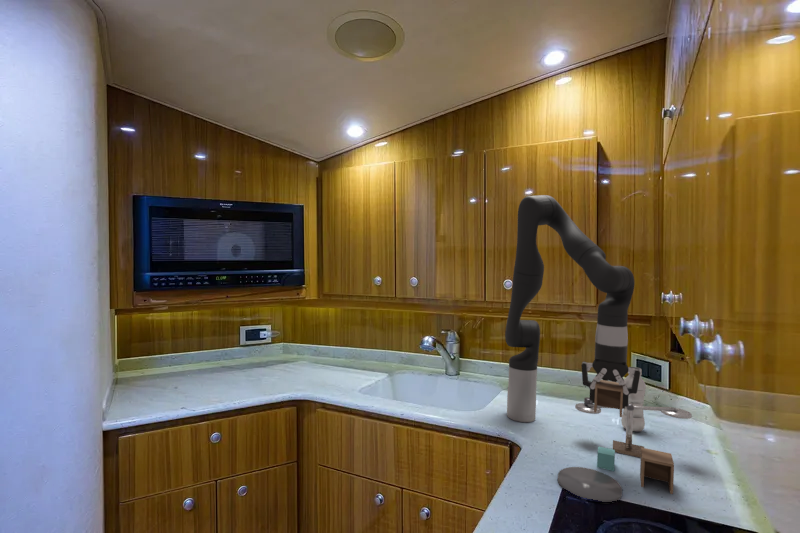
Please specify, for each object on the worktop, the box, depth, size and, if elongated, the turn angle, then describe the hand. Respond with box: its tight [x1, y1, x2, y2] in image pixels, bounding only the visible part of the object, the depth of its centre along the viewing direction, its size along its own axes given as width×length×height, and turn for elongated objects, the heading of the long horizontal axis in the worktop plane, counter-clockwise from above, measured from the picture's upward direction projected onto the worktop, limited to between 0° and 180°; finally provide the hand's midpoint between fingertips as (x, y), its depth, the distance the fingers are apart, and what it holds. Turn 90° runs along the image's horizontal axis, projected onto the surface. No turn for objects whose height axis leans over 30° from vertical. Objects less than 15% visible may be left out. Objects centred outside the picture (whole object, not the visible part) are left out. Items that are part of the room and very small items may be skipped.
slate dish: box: [557, 466, 623, 503], centre depth 99 cm, size 14×14×1 cm
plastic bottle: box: [620, 366, 647, 433], centre depth 133 cm, size 6×7×20 cm
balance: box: [574, 397, 692, 459], centre depth 118 cm, size 29×7×14 cm, turn 62°
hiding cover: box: [593, 379, 623, 418], centre depth 109 cm, size 6×6×7 cm
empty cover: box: [639, 447, 675, 495], centre depth 101 cm, size 6×6×7 cm
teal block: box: [596, 446, 616, 472], centre depth 110 cm, size 4×4×4 cm
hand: (608, 404), depth 109 cm, fingers closed on hiding cover, 6 cm apart
